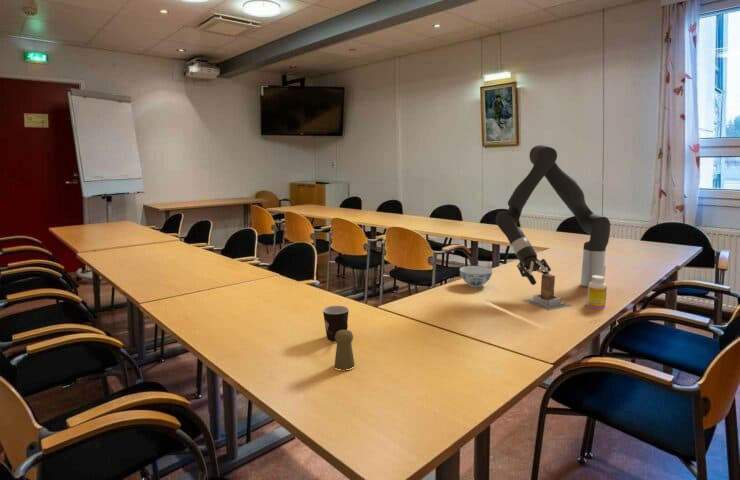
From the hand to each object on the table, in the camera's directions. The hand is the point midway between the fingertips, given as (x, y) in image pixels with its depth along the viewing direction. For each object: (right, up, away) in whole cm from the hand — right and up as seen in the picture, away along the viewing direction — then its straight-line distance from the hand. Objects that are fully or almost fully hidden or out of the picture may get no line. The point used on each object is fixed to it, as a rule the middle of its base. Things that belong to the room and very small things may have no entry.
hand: (542, 282), depth 189 cm
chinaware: (-21, -4, +28) cm, 35 cm away
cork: (-78, -20, -54) cm, 97 cm away
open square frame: (+1, -8, -1) cm, 8 cm away
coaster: (+1, -9, -1) cm, 9 cm away
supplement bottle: (+20, -10, -5) cm, 22 cm away
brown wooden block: (+1, -7, -1) cm, 8 cm away
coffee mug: (-82, -16, -34) cm, 90 cm away
